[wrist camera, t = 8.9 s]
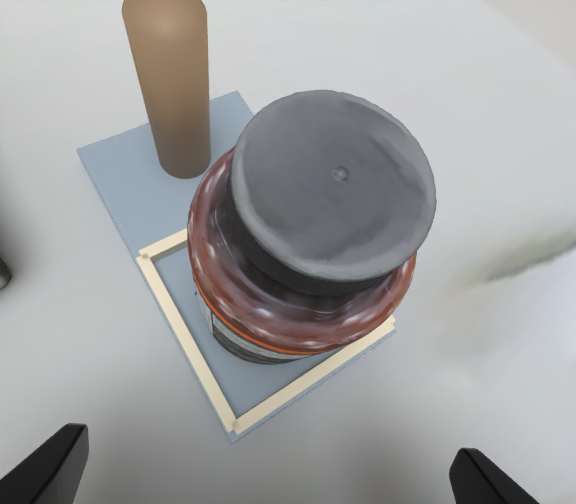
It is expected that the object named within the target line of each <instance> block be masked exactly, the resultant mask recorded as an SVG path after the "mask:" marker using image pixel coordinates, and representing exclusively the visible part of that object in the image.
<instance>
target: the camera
mask: <svg viewBox="0 0 576 504" xmlns="http://www.w3.org/2000/svg"><path fill="white" fill-rule="evenodd" d="M9 278H11V276H10V274H9V272H8V269H7V267H6V265H5V264H4V263H3V262H2V260H1V259H0V289H2V288H3V287H4V286H5V285H6V284H7V283H8V281H9Z"/></svg>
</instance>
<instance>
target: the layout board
mask: <svg viewBox="0 0 576 504" xmlns="http://www.w3.org/2000/svg"><path fill="white" fill-rule="evenodd" d="M122 15H123V19H124V23H125V27H126V31H127V35H128V39H129V43H130V47H131V51H132V55H133V59H134V63H135V67H136V71H137V75H138V79H139V83H140V87H141V91H142V95H143V99H144V103H145V107H146V111H147V115H148V118H149V122H150V123H147V124H145V125H142V126H139V127H137V128H134V129H131V130H128V131H126V132H123V133H120V134H118V135H115V136H112V137H109V138H107V139H104V140H101V141H99V142H96V143H93V144H90V145H88V146H85V147H82V148H80V149H77V150H76V151H77V153H78V155H79V157H80V159H81V160H82V162H83V164H84V166H85V168H86V170H87V172H88V174H89V176H90V177H91V179H92V181H93V183H94V185H95V187H96V189H97V191H98V193H99V194H100V196H101V198H102V200H103V202H104V204H105V206H106V208H107V210H108V211H109V213H110V215H111V217H112V219H113V221H114V223H115V225H116V227H117V228H118V230H119V232H120V234H121V236H122V238H123V240H124V242H125V244H126V245H127V247H128V249H129V251H130V253H131V255H132V257H133V259H134V261H135V262H136V264H137V266H138V268H139V270H140V272H141V274H142V276H143V278H144V279H145V281H146V283H147V285H148V287H149V289H150V291H151V293H152V295H153V296H154V298H155V300H156V302H157V304H158V306H159V308H160V310H161V312H162V313H163V315H164V317H165V319H166V321H167V323H168V325H169V327H170V329H171V330H172V332H173V334H174V336H175V338H176V340H177V342H178V344H179V346H180V347H181V349H182V351H183V353H184V355H185V357H186V359H187V361H188V363H189V364H190V366H191V368H192V370H193V372H194V374H195V376H196V378H197V380H198V381H199V383H200V385H201V387H202V389H203V391H204V393H205V395H206V397H207V398H208V400H209V402H210V404H211V406H212V408H213V410H214V412H215V414H216V415H217V417H218V419H219V421H220V423H221V425H222V427H223V429H224V431H225V432H226V434H227V436H228V438H229V440H230V442H231V444H233V443H234V442H235V441H237V440H238V439H240V438H241V437H243V436H244V435H246V434H247V433H249V432H250V431H252V430H253V429H255V428H256V427H257V426H259V425H260V424H262V423H263V422H265V421H266V420H268V419H269V418H271V417H272V416H274V415H275V414H277V413H278V412H279V411H281V410H282V409H284V408H285V407H287V406H288V405H290V404H291V403H293V402H294V401H296V400H297V399H299V398H300V397H301V396H303V395H304V394H306V393H307V392H309V391H310V390H312V389H313V388H315V387H316V386H318V385H319V384H321V383H322V382H323V381H325V380H326V379H328V378H329V377H331V376H332V375H334V374H335V373H337V372H338V371H340V370H341V369H343V368H344V367H346V366H347V365H348V364H350V363H351V362H353V361H354V360H356V359H357V358H359V357H360V356H362V355H363V354H365V353H366V352H368V351H369V350H370V349H372V348H373V347H375V346H376V345H378V344H379V343H381V342H382V341H384V340H385V339H387V338H388V337H390V336H391V335H392V334H394V333H395V332H396V330H395V328H394V326H393V325H392V323H393V322H395V321H396V320H395V319H394V317H393V316H392V314H391V315H390V317H389V318H388V319H387V320H386V321H385V322H383V324H381V325H380V326H379V327H377V328H376V329H375V330H373V331H372V332H371V333H369V334H368V335H366V336H365V337H363V338H361V339H359V340H357V341H355V342H353V343H351V344H348V345H346V346H343V347H340V348H337V349H334V350H332V351H329V352H325V353H322V354H318V355H314V356H310V357H307V358H303V359H300V360H296V361H292V362H288V363H284V364H276V365H265V364H257V363H252V362H248V361H245V360H242V359H241V358H239V357H237V356H235V355H233V354H232V353H230V352H229V351H227V350H226V349H225V348H223V347H222V346H221V345H220V344H219V343H218V341H217V340H216V339H215V338H214V336H213V335H212V333H211V332H210V330H209V328H208V326H207V324H206V322H205V320H204V317H203V315H202V311H201V308H200V303H199V299H198V295H197V294H196V295H195V292H196V288H195V284H194V280H193V274H192V267H191V263H190V258H189V253H188V241H187V222H188V213H189V210H190V205H191V202H192V199H193V197H194V195H195V192H196V189H197V187H198V185H199V184H200V182H201V180H202V178H203V177H204V175H205V174H206V172H207V171H208V170H209V169H210V168H211V167H212V165H213V164H214V163H215V162H216V161H217V160H218V159H219V158H220V157H221V156H222V155H223V154H224V153H225V152H226V151H227V150H228V149H230V148H232V147H234V146H235V145H236V142H237V140H238V138H239V136H240V135H241V133H242V131H243V130H244V128H245V127H246V125H247V124H248V123H249V121H250V120H251V119H252V118H253V117H254V115H253V114H252V112H251V110H250V109H249V107H248V106H247V104H246V103H245V101H244V100H243V98H242V97H241V95H240V94H239V92H238V91H234V92H232V93H229V94H226V95H224V96H221V97H218V98H215V99H213V100H210V101H209V72H208V35H207V12H206V8H205V6H204V4H203V2H202V1H201V0H124V2H123V5H122Z"/></svg>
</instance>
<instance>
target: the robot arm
mask: <svg viewBox="0 0 576 504" xmlns="http://www.w3.org/2000/svg"><path fill="white" fill-rule="evenodd" d="M88 453H89V442H88V427H87V425H86V424H77V423H68V424H66V425H65V426H63V427H62V428H61V429H60V430H59V431H57V432H56V433H55V434H54V435H53V436H51V437H50V438H49V439H48V440H47V441H46V442H44V443H43V444H42V445H41V446H40V447H39V448H37V449H36V450H35V451H34V452H33V453H32V454H30V455H29V456H28V457H27V458H26V459H24V460H23V461H22V462H21V463H20V464H19V465H17V466H16V467H15V468H14V469H13V470H12V471H10V472H9V473H8V474H7V475H6V476H4V477H3V478H2V479H1V480H0V504H73V501H74V498H75V495H76V492H77V489H78V486H79V483H80V480H81V477H82V474H83V471H84V468H85V465H86V462H87V458H88ZM449 478H450V482H451V486H452V489H453V493H454V497H455V500H456V504H539V503H538V502H537V501H536V500H535V499H534V498H533V497H532V496H530V495H529V494H528V493H527V492H526V491H525V490H524V489H523V488H521V487H520V486H519V485H518V484H517V483H516V482H515V481H513V480H512V479H511V478H510V477H509V476H508V475H507V474H506V473H504V472H503V471H502V470H501V469H500V468H499V467H498V466H496V465H495V464H494V463H493V462H492V461H491V460H490V459H489V458H487V457H486V456H485V455H484V454H483V453H482V452H481V451H479V450H478V449H475V448H461V449H459V451H458V453H457V455H456V457H455V459H454V461H453V463H452V465H451V467H450V471H449Z"/></svg>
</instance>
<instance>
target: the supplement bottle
mask: <svg viewBox="0 0 576 504" xmlns="http://www.w3.org/2000/svg"><path fill="white" fill-rule="evenodd" d="M435 210H436V188H435V183H434V176H433V173H432V170H431V167H430V165H429V162H428V159H427V157H426V155H425V154H424V152H423V150H422V148H421V146H420V145H419V143H418V141H417V140H416V139H415V138H414V136H413V135H412V134H411V133H410V132H409V131H408V129H407V128H406V127H405V126H404V125H403V124H402V123H401V122H400V121H399V120H398V119H396V118H394V117H393V116H392V115H391V114H389V113H388V112H386V111H385V110H383V109H381V108H380V107H378V106H377V105H375V104H372V103H370V102H369V101H367V100H366V99H363V98H360V97H357V96H353V95H350V94H347V93H344V92H336V91H332V90H313V91H305V92H297V93H294V94H291V95H289V96H285V97H283V98H280V99H278V100H276V101H274V102H272V103H271V104H269V105H268V106H266V107H264V108H263V109H262V110H260V111H259V112H258V113H257V114H256V115H255V116H254V117H253V118H252V119H251V120H250V121H249V123H248V124H247V125H246V127H245V128H244V130H243V131H242V133H241V135H240V136H239V138H238V140H237V142H236V145H235V146H234V147H232V148H230V149H228V150H227V151H226V152H225V153H224V154H223V155H222V156H221V157H220V158H219V159H218V160H217V161H216V162H215V163H214V164H213V165H212V167H211V168H210V169H209V170H208V171H207V172H206V174H205V175H204V177H203V178H202V180H201V182H200V184H199V185H198V187H197V189H196V192H195V195H194V197H193V199H192V202H191V205H190V210H189V213H188V222H187V241H188V253H189V258H190V263H191V267H192V274H193V280H194V284H195V288H196V292H195V295H196V294H197V295H198V299H199V303H200V308H201V311H202V315H203V317H204V320H205V322H206V324H207V326H208V328H209V330H210V332H211V333H212V335H213V336H214V338H215V339H216V340H217V341H218V343H219V344H220V345H221V346H222V347H223V348H225V349H226V350H227V351H229V352H230V353H232V354H233V355H235V356H237V357H239V358H241V359H242V360H245V361H248V362H252V363H257V364H265V365H276V364H284V363H288V362H292V361H296V360H300V359H303V358H307V357H310V356H314V355H318V354H322V353H325V352H329V351H332V350H334V349H337V348H340V347H343V346H346V345H348V344H351V343H353V342H355V341H357V340H359V339H361V338H363V337H365V336H366V335H368V334H369V333H371V332H372V331H373V330H375V329H376V328H377V327H379V326H380V325H381V324H383V322H385V321H386V320H387V319H388V318H389V317H390V315H391V314H392V313H393V312H394V310H395V309H396V308H397V306H398V305H399V304H400V302H401V301H402V299H403V297H404V295H405V293H406V292H407V290H408V288H409V286H410V283H411V280H412V277H413V272H414V269H415V264H416V255H417V250H418V249H419V247H420V246H421V245H422V243H423V242H424V240H425V239H426V237H427V235H428V232H429V230H430V228H431V225H432V222H433V219H434V215H435Z"/></svg>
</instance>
